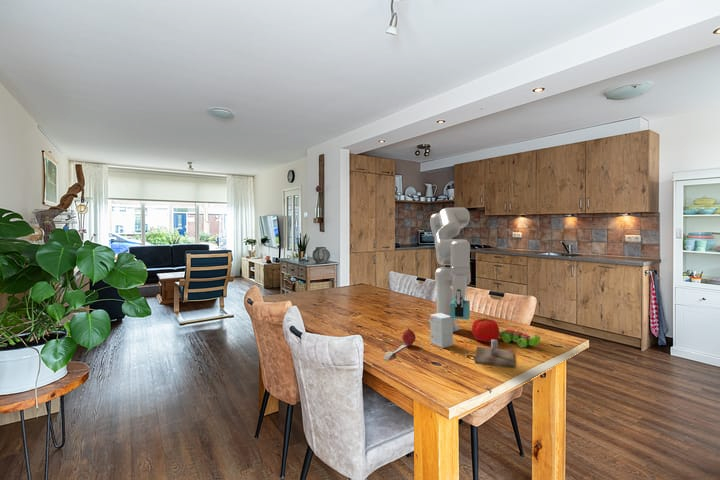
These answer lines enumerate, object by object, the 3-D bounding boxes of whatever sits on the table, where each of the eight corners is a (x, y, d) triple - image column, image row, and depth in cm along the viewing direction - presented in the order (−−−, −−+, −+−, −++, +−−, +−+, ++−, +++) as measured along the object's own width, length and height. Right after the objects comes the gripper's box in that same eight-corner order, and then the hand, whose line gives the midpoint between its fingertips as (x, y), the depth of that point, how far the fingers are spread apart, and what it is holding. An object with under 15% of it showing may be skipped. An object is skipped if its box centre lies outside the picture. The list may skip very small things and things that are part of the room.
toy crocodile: (492, 339, 160) (492, 326, 159) (500, 336, 163) (500, 323, 163) (534, 351, 143) (534, 337, 143) (542, 348, 147) (542, 334, 147)
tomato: (496, 337, 162) (496, 315, 161) (501, 345, 150) (501, 322, 150) (470, 336, 164) (470, 314, 164) (472, 344, 153) (472, 321, 152)
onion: (401, 343, 155) (401, 326, 155) (414, 343, 155) (414, 325, 155) (403, 348, 149) (402, 329, 149) (416, 348, 149) (416, 329, 149)
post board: (474, 362, 132) (474, 345, 132) (476, 348, 147) (476, 332, 147) (514, 367, 127) (514, 349, 127) (512, 352, 142) (512, 336, 142)
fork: (408, 351, 153) (408, 345, 153) (387, 362, 135) (387, 355, 135) (402, 350, 154) (402, 344, 154) (381, 361, 136) (381, 354, 137)
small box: (453, 345, 151) (453, 316, 151) (441, 348, 149) (441, 318, 148) (441, 340, 159) (441, 312, 158) (430, 342, 156) (429, 314, 155)
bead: (450, 318, 140) (450, 303, 139) (452, 313, 146) (452, 299, 146) (468, 319, 137) (468, 304, 137) (469, 314, 144) (469, 300, 143)
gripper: (453, 267, 150) (453, 308, 151) (447, 273, 134) (448, 319, 135) (471, 268, 147) (471, 309, 148) (468, 274, 131) (468, 320, 132)
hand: (460, 313), depth 142 cm, fingers closed on bead, 7 cm apart
